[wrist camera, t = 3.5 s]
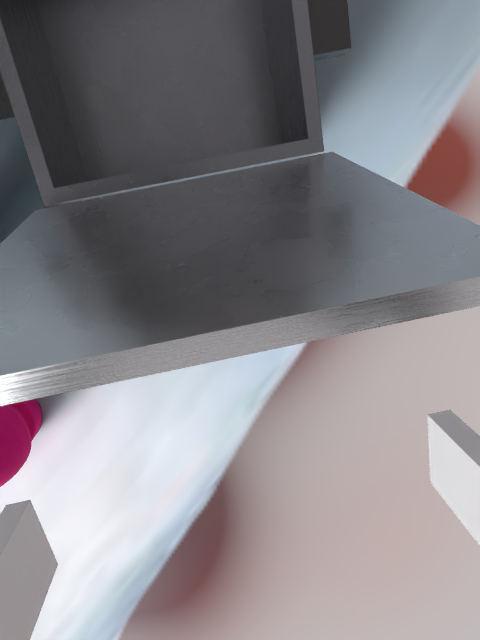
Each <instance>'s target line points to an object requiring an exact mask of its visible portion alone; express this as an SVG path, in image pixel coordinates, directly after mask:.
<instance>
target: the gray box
mask: <svg viewBox="0 0 480 640" xmlns="http://www.w3.org/2000/svg"><path fill="white" fill-rule="evenodd" d="M350 49H351V42H350V30H349V18H348V7H347V0H0V119H6V118H11V117H15V118H16V121H17V124H18V127H19V130H20V133H21V136H22V139H23V143H24V146H25V149H26V152H27V155H28V158H29V161H30V164H31V167H32V170H33V173H34V176H35V179H36V182H37V185H38V188H39V192H40V195H41V198H42V201H43V204H44V206H47V205H55V204H63V203H71V202H78V201H83V200H88V199H93V198H98V197H104V196H109V195H114V194H119V193H124V192H129V191H134V190H139V189H145V188H150V187H155V186H160V185H165V184H170V183H175V182H180V181H185V180H191V179H196V178H201V177H206V176H211V175H216V174H221V173H226V172H231V171H237V170H242V169H247V168H252V167H257V166H262V165H267V164H272V163H277V162H283V161H288V160H293V159H298V158H302V157H305V156H309V155H312V154H316V153H319V152H323V151H324V146H323V137H322V128H321V119H320V110H319V101H318V92H317V83H316V74H315V65H314V60H318V59H324V58H329V57H334V56H340V55H344V54H345V53H346V52H347V51H348V50H350Z"/></svg>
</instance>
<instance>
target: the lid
mask: <svg viewBox="0 0 480 640" xmlns="http://www.w3.org/2000/svg"><path fill="white" fill-rule="evenodd" d="M477 306H480V225H478V224H475V223H474V222H472V221H470V220H468V219H466V218H464V217H462V216H460V215H458V214H456V213H454V212H451V211H450V210H448V209H446V208H444V207H442V206H440V205H437V204H435V203H434V202H432V201H430V200H427V199H426V198H424V197H422V196H420V195H418V194H416V193H414V192H412V191H410V190H408V189H406V188H404V187H402V186H400V185H398V184H396V183H394V182H392V181H390V180H388V179H386V178H384V177H382V176H380V175H378V174H376V173H374V172H372V171H370V170H368V169H366V168H364V167H362V166H360V165H358V164H356V163H354V162H352V161H350V160H348V159H346V158H344V157H342V156H340V155H338V154H336V153H334V152H329V153H324V154H318V155H313V156H308V157H303V158H298V159H293V160H288V161H283V162H277V163H272V164H267V165H262V166H257V167H252V168H247V169H242V170H237V171H231V172H226V173H221V174H216V175H211V176H206V177H201V178H196V179H191V180H185V181H180V182H175V183H170V184H165V185H160V186H155V187H150V188H145V189H139V190H134V191H129V192H124V193H119V194H114V195H109V196H104V197H98V198H93V199H88V200H83V201H78V202H73V203H68V204H63V205H58V206H52V207H47V208H42V209H37V210H35V211H34V212H33V213H32V214H31V215H30V216H29V217H27V218H26V219H25V220H24V221H23V222H22V223H21V224H20V225H19V226H18V227H17V228H16V229H15V230H14V231H13V232H12V233H11V234H10V235H9V236H8V237H7V238H6V239H5V240H4V241H3V242H2V243H0V406H3V405H8V404H13V403H18V402H22V401H27V400H32V399H37V398H42V397H46V396H51V395H56V394H61V393H66V392H70V391H75V390H80V389H85V388H89V387H94V386H99V385H104V384H109V383H113V382H118V381H123V380H128V379H132V378H137V377H142V376H147V375H152V374H156V373H161V372H166V371H171V370H176V369H180V368H185V367H190V366H195V365H199V364H204V363H209V362H214V361H219V360H223V359H228V358H233V357H238V356H243V355H247V354H252V353H257V352H262V351H266V350H271V349H276V348H281V347H286V346H290V345H295V344H300V343H305V342H309V341H314V340H319V339H324V338H329V337H333V336H338V335H343V334H348V333H353V332H357V331H362V330H366V329H371V328H376V327H381V326H386V325H391V324H395V323H400V322H405V321H410V320H415V319H419V318H424V317H429V316H434V315H438V314H443V313H448V312H453V311H458V310H463V309H467V308H472V307H477Z"/></svg>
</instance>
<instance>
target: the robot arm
mask: <svg viewBox="0 0 480 640" xmlns="http://www.w3.org/2000/svg"><path fill="white" fill-rule="evenodd" d="M428 438H429V461H430V482H431V484H432V485H433V486H434V487H435V489H436V490H437V491H438V493H439V494H440V495H441V496H442V498H443V499H444V500H445V502H446V503H447V504H448V505H449V507H450V508H451V509H452V511H453V512H454V513H455V514H456V516H457V517H458V518H459V520H460V521H461V522H462V523H463V525H464V526H465V527H466V529H467V530H468V531H469V532H470V534H471V535H472V536H473V538H474V539H475V540H476V541H477V543H478V544H479V545H480V436H479V435H478V434H477V433H475V432H474V431H473V430H472V429H471V428H470V427H469V426H467V425H466V424H465V423H464V422H463V421H462V420H461V419H460V418H459V417H458V416H456V415H455V414H454V413H453V412H452V411H451V410H447V411H442V412H437V413H433V414H428ZM57 565H58V563H57V561H56V559H55V556H54V554H53V552H52V549H51V547H50V545H49V542H48V540H47V538H46V535H45V533H44V531H43V528H42V526H41V524H40V521H39V519H38V517H37V515H36V512H35V510H34V508H33V505H32V503H31V501H30V500H28V501H23V502H18V503H14V504H9V505H6V506H5V508H4V510H3V511H2V513H1V515H0V640H30V638H31V635H32V632H33V630H34V627H35V624H36V622H37V619H38V616H39V613H40V611H41V608H42V605H43V603H44V600H45V597H46V595H47V592H48V589H49V587H50V584H51V581H52V579H53V576H54V573H55V571H56V568H57Z"/></svg>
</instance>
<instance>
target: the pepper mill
mask: <svg viewBox="0 0 480 640" xmlns="http://www.w3.org/2000/svg"><path fill="white" fill-rule="evenodd" d="M41 423H42V412H41V409H40V406H39V403H38V402H37V400H36V399H32V400H27V401H22V402H18V403H13V404H8V405H3V406H0V487H1V486H2V485H4V484H5V483H6V482H7V481H9V480H10V479H11V478H12V477H13V476H14V475H15V474H16V473H17V472H18V471H19V470H20V468H21V467H22V466H23V464H24V463H25V462H26V460H27V458H28V456H29V453H30V450H31V441H32V440H33V438H34V437H35V435H36V434H37V432H38V430H39V429H40V426H41Z"/></svg>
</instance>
